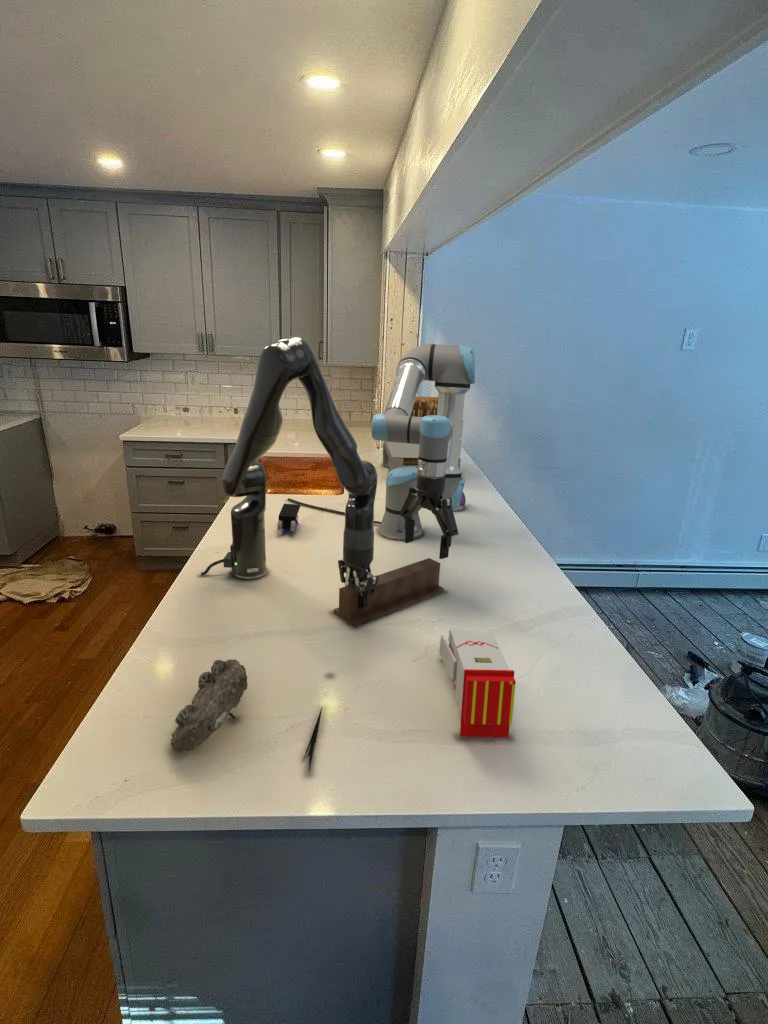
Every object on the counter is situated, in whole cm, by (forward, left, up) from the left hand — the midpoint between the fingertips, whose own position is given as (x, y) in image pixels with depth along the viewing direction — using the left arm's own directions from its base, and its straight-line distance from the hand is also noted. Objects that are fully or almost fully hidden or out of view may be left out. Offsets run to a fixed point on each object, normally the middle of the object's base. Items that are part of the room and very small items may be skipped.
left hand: (356, 603), depth 145 cm
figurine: (+34, +88, -3) cm, 94 cm away
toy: (+26, -29, -3) cm, 39 cm away
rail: (+9, +8, -3) cm, 12 cm away
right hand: (+18, +16, +9) cm, 25 cm away
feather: (-4, -40, -3) cm, 40 cm away
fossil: (-24, -40, -3) cm, 47 cm away
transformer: (+21, +137, -3) cm, 139 cm away
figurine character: (-28, +56, -3) cm, 62 cm away
